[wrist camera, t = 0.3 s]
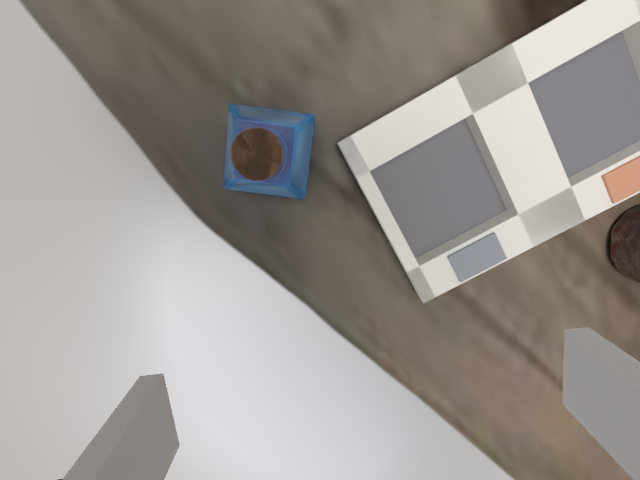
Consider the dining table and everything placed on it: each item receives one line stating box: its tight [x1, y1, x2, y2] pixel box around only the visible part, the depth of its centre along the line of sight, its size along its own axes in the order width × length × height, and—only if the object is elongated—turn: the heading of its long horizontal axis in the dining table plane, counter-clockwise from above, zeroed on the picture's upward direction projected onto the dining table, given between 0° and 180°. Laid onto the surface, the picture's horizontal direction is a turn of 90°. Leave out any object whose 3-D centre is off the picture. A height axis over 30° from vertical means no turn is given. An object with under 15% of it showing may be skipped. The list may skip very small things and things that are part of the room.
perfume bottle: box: [223, 103, 315, 199], centre depth 31 cm, size 6×6×12 cm
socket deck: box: [336, 0, 640, 303], centre depth 35 cm, size 26×16×3 cm, turn 119°
